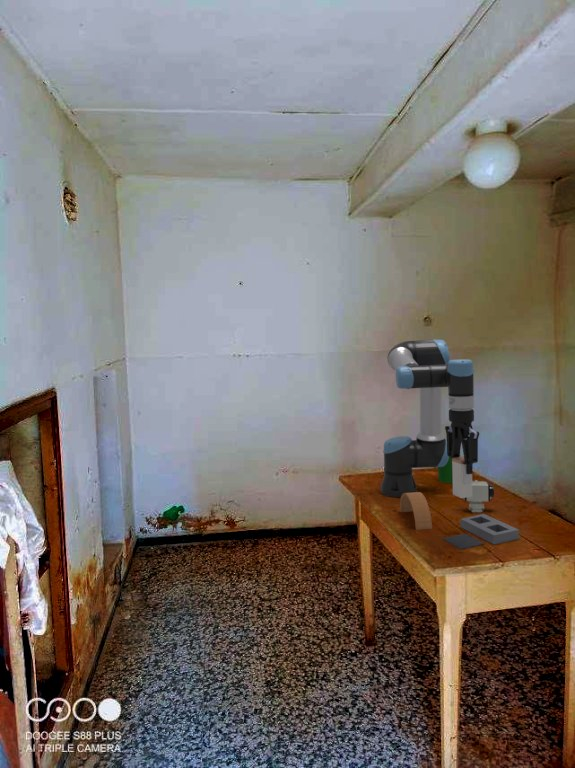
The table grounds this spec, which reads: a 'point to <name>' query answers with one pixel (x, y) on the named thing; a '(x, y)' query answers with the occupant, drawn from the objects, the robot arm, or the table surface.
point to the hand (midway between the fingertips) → (462, 481)
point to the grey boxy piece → (489, 529)
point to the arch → (417, 509)
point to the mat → (463, 541)
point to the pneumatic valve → (479, 495)
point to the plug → (460, 479)
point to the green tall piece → (446, 472)
